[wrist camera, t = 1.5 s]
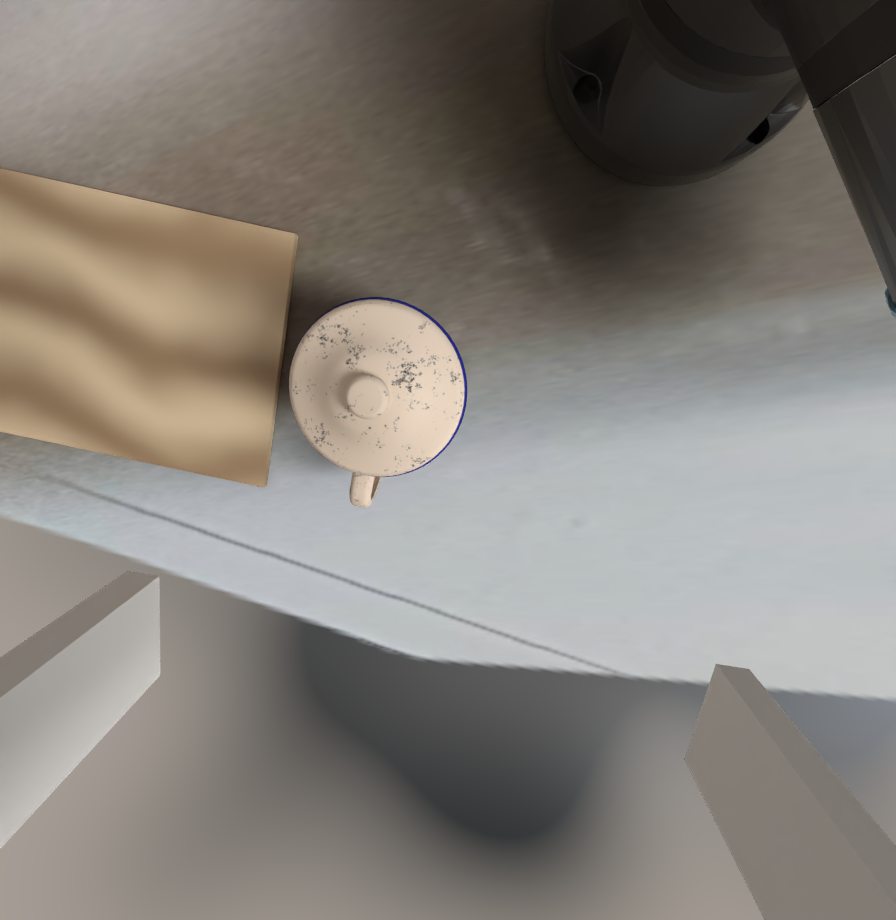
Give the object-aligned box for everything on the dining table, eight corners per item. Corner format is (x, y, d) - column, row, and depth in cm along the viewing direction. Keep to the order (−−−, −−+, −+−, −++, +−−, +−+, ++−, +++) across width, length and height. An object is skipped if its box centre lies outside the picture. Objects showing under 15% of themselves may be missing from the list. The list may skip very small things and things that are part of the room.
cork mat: (-14, 166, 30) (-23, 163, 30) (298, 235, 31) (295, 233, 30) (-9, 426, 35) (-17, 427, 34) (266, 485, 35) (263, 487, 34)
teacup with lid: (347, 293, 32) (282, 265, 20) (481, 328, 32) (491, 320, 21) (314, 465, 34) (241, 525, 23) (438, 496, 35) (425, 570, 23)
